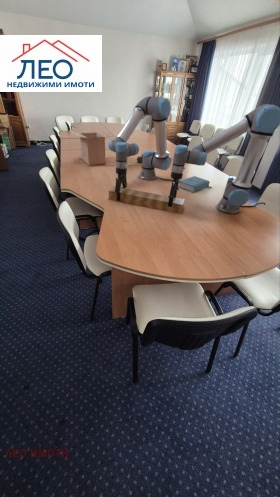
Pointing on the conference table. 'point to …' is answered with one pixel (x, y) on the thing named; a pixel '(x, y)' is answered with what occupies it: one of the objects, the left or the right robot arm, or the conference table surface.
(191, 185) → the book
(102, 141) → the box
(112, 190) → the wide beam
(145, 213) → the conference table surface
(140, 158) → the laser sight
